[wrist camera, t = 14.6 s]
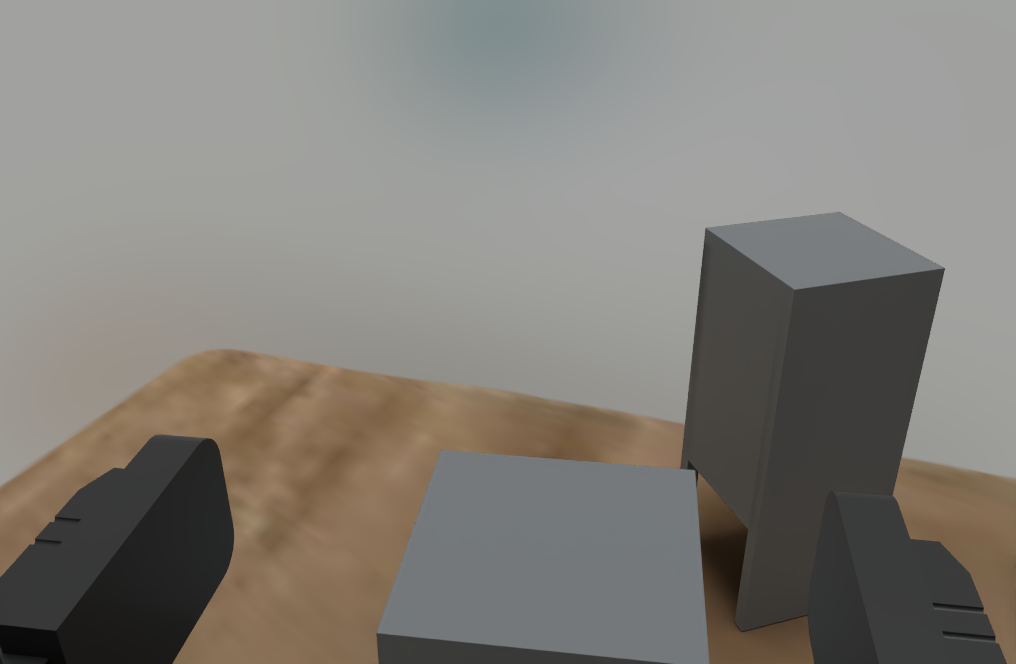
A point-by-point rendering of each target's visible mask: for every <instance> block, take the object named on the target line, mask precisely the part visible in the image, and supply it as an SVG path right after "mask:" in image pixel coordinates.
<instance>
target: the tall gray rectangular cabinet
mask: <svg viewBox="0 0 1016 664" xmlns="http://www.w3.org/2000/svg"><path fill="white" fill-rule="evenodd" d="M944 270H945V268H944V267H942V266H940V265H938V264H936V263H934V262H932V261H931V260H929V259H927V258H925V257H923V256H921V255H919V254H918V253H916V252H914V251H912V250H910V249H908V248H906V247H904V246H903V245H901V244H899V243H897V242H895V241H893V240H891V239H889V238H887V237H886V236H884V235H882V234H880V233H878V232H876V231H874V230H873V229H871V228H869V227H867V226H865V225H863V224H861V223H859V222H858V221H856V220H854V219H852V218H850V217H848V216H846V215H844V214H843V213H841V212H836V213H827V214H818V215H810V216H802V217H794V218H785V219H777V220H769V221H759V222H751V223H743V224H734V225H726V226H719V227H718V226H717V227H710V228H706V230H705V239H704V250H703V258H702V268H701V278H700V287H699V296H698V306H697V316H696V325H695V335H694V344H693V354H692V363H691V373H690V382H689V392H688V402H687V411H686V420H685V430H684V439H683V449H682V459H681V468H680V469H687V470H695V476H696V488H697V480H698V472H699V473H700V474H701V475H702V477H703V478H704V479H705V480H706V481H707V482H708V484H709V485H710V486H711V487H712V488H713V489H714V491H715V492H716V493H717V494H718V495H719V496H720V497H721V499H722V500H723V501H724V502H725V503H726V504H727V506H728V507H729V508H730V509H731V510H732V511H733V513H734V514H735V515H736V516H737V517H738V518H739V520H740V521H741V522H742V523H743V524H744V525H745V527H746V528H747V529H748V534H747V541H746V548H745V554H744V561H743V568H742V574H741V581H740V588H739V594H738V601H737V608H736V615H735V621H734V622H735V623H736V625H737V626H738V627H739V629H740V630H741V631H746V630H750V629H754V628H757V627H761V626H765V625H769V624H773V623H777V622H781V621H785V620H789V619H793V618H797V617H801V616H805V615H808V599H809V588H810V581H811V576H812V571H813V565H814V560H815V555H816V549H817V544H818V539H819V533H820V528H821V523H822V517H823V512H824V507H825V502H826V499H827V496H828V494H829V492H831V491H837V492H849V493H862V494H874V495H886V496H892V495H893V491H894V486H895V482H896V478H897V473H898V469H899V465H900V460H901V456H902V452H903V447H904V443H905V439H906V435H907V430H908V426H909V421H910V417H911V413H912V409H913V404H914V400H915V396H916V391H917V387H918V383H919V378H920V374H921V369H922V365H923V361H924V357H925V352H926V348H927V344H928V339H929V335H930V331H931V327H932V322H933V318H934V314H935V309H936V304H937V300H938V296H939V292H940V287H941V283H942V279H943V274H944Z"/></svg>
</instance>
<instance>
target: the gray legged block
mask: <svg viewBox="0 0 1016 664" xmlns="http://www.w3.org/2000/svg"><path fill="white" fill-rule="evenodd" d="M377 646H378V658H379V664H709V654H708V640H707V626H706V613H705V599H704V585H703V572H702V558H701V544H700V531H699V517H698V503H697V490H696V476H695V470H687V469H674V468H661V467H649V466H636V465H624V464H611V463H599V462H586V461H574V460H561V459H548V458H536V457H523V456H511V455H498V454H486V453H473V452H460V451H448V450H441V451H440V454H439V456H438V459H437V462H436V465H435V468H434V471H433V473H432V476H431V479H430V482H429V485H428V488H427V491H426V493H425V496H424V499H423V502H422V505H421V508H420V511H419V513H418V516H417V519H416V522H415V525H414V528H413V530H412V533H411V536H410V539H409V542H408V545H407V548H406V550H405V553H404V556H403V559H402V562H401V565H400V568H399V570H398V573H397V576H396V579H395V582H394V585H393V587H392V590H391V593H390V596H389V599H388V602H387V605H386V607H385V610H384V613H383V616H382V619H381V622H380V625H379V627H378V630H377Z"/></svg>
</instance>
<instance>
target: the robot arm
mask: <svg viewBox="0 0 1016 664" xmlns="http://www.w3.org/2000/svg"><path fill="white" fill-rule="evenodd" d="M233 544H234V529H233V522H232V517H231V511H230V505H229V500H228V494H227V489H226V483H225V478H224V472H223V467H222V461H221V456H220V451H219V448H218V446H217V444H216V442H215V441H214V440H212V439H208V438H196V437H184V436H172V435H155V436H153V437H152V438H151V439H150V440H149V441H148V442H147V443H146V444H145V445H144V446H143V448H142V449H141V450H140V451H139V452H138V453H137V455H136V456H135V457H134V458H133V459H132V461H131V462H130V463H129V464H128V465H127V466H126V468H125V469H121V468H113V469H112V470H110V471H108V472H107V473H105V474H104V475H102V476H100V477H99V478H97V479H96V480H94V481H92V482H91V483H89V484H88V485H86V486H84V487H83V488H81V489H80V490H78V491H77V493H76V494H75V495H74V496H73V497H72V498H71V499H70V500H69V502H68V503H67V504H66V505H65V506H64V507H63V508H62V509H61V510H60V512H59V513H58V514H57V515H56V516H55V521H54V522H50V523H49V524H48V525H47V526H46V527H45V528H44V529H43V531H42V532H41V533H40V534H39V535H38V536H37V537H36V538H35V544H34V545H31V544H30V545H29V546H28V547H27V548H26V550H25V551H24V552H23V553H22V554H21V555H20V556H19V557H18V558H17V560H16V561H15V562H14V563H13V564H12V565H11V566H10V567H9V569H8V570H7V571H6V572H5V573H4V574H3V575H2V576H1V577H0V664H172V663H173V661H174V660H175V658H176V656H177V655H178V653H179V651H180V650H181V648H182V646H183V645H184V643H185V641H186V640H187V638H188V636H189V635H190V633H191V631H192V630H193V628H194V626H195V625H196V623H197V621H198V620H199V618H200V616H201V614H202V613H203V611H204V609H205V608H206V606H207V604H208V603H209V601H210V599H211V598H212V596H213V594H214V593H215V591H216V589H217V588H218V586H219V584H220V583H221V581H222V579H223V578H224V576H225V574H226V572H227V569H228V567H229V564H230V561H231V557H232V552H233ZM983 609H984V607H983V605H982V602H981V600H980V597H979V595H978V592H977V590H976V588H975V585H974V583H973V580H972V578H971V575H970V573H969V572H968V571H967V570H966V569H965V568H964V567H963V566H962V565H961V564H960V563H959V562H958V561H957V560H956V559H955V558H954V557H953V556H952V555H951V553H950V552H949V551H948V550H947V549H946V548H945V547H944V546H943V545H942V544H941V543H940V542H937V541H925V540H914V539H910V537H909V534H908V531H907V528H906V525H905V523H904V520H903V517H902V514H901V511H900V508H899V505H898V503H897V501H896V499H895V498H894V497H893V496H886V495H874V494H862V493H849V492H837V491H831V492H829V494H828V496H827V499H826V502H825V507H824V512H823V517H822V523H821V528H820V533H819V539H818V544H817V549H816V555H815V560H814V565H813V571H812V576H811V581H810V588H809V599H808V624H809V635H810V641H811V647H812V652H813V658H814V663H815V664H1007V663H1006V661H1005V658H1004V656H1003V653H1002V651H1001V648H1000V646H999V644H996V642H995V634H994V631H993V629H992V627H991V624H990V622H989V619H988V617H987V615H986V614H984V612H983Z"/></svg>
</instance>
